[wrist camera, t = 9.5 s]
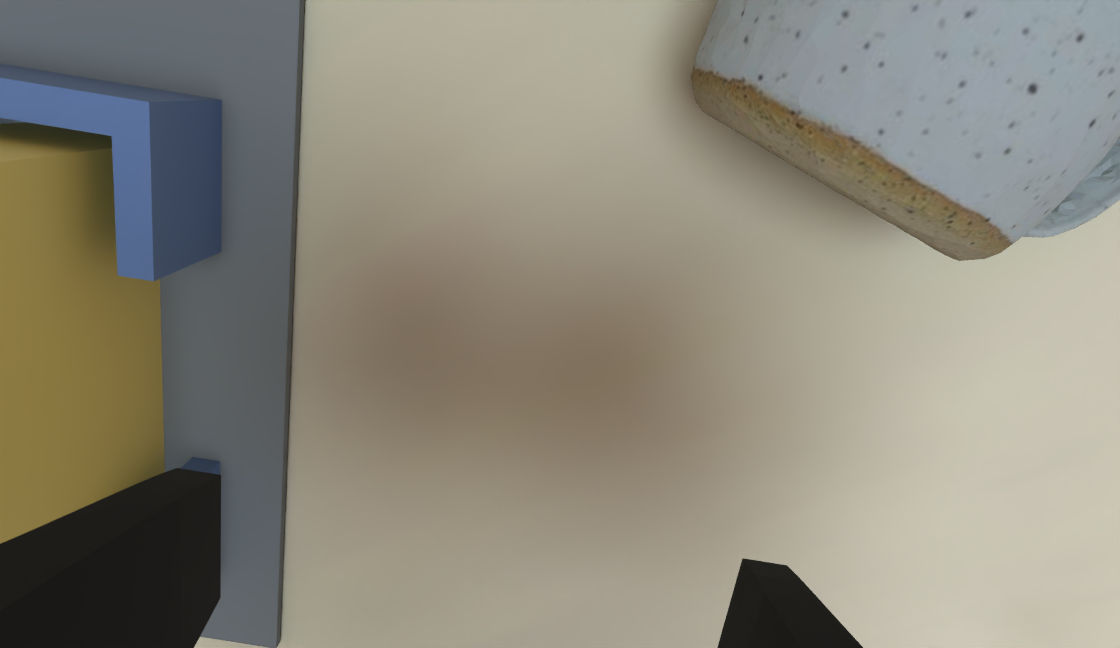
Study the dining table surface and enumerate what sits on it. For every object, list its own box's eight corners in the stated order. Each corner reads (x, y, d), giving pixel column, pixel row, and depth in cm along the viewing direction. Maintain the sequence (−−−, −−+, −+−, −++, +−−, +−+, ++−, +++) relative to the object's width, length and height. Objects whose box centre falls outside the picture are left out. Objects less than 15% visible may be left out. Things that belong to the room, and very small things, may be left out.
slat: (165, 519, 21) (8, 678, 15) (59, 503, 21) (-138, 655, 15) (156, 142, 18) (-51, 168, 12) (28, 122, 18) (-240, 137, 12)
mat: (280, 641, 23) (276, 648, 23) (-31, 591, 23) (-40, 598, 22) (304, -3, 17) (299, -4, 17) (-118, -73, 17) (-131, -75, 16)
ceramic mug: (647, 95, 17) (696, 106, 10) (847, -273, 15) (1106, -617, 7) (1002, 296, 19) (1274, 435, 11) (1239, -11, 16) (1781, -86, 9)
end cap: (-40, 57, 17) (-165, 50, 14) (221, 99, 17) (149, 102, 14) (-24, 211, 18) (-137, 234, 16) (221, 251, 19) (153, 281, 16)
